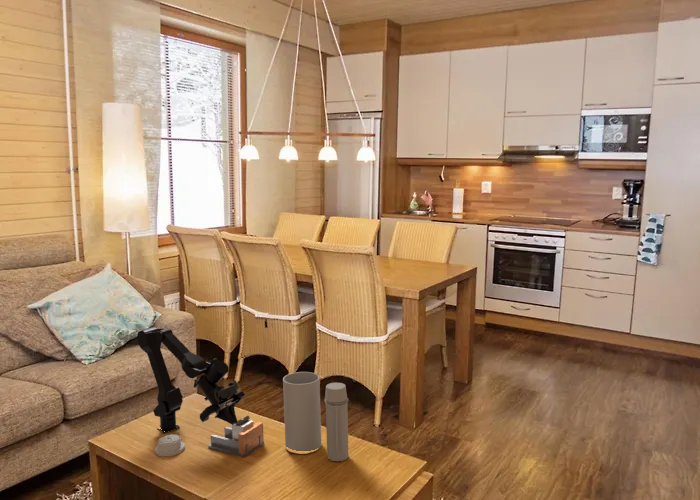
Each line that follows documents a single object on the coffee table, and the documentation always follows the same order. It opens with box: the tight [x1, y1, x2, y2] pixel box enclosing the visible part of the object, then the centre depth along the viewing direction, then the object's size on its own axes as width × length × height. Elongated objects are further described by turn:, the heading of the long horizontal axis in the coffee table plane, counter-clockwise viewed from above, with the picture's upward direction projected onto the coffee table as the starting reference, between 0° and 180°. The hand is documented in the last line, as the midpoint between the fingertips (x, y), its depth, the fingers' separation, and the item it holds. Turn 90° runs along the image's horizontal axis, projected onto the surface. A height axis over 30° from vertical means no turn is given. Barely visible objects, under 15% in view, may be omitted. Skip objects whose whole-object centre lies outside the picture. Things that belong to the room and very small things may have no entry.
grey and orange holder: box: [207, 421, 265, 459], centre depth 197 cm, size 16×11×8 cm
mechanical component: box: [154, 433, 186, 457], centre depth 196 cm, size 10×4×10 cm
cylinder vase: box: [282, 371, 322, 451], centre depth 194 cm, size 12×12×25 cm
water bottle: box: [324, 382, 349, 463], centre depth 185 cm, size 9×8×25 cm
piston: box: [231, 415, 254, 441], centre depth 195 cm, size 5×6×9 cm
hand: (236, 425), depth 196 cm, fingers closed, pressing on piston
